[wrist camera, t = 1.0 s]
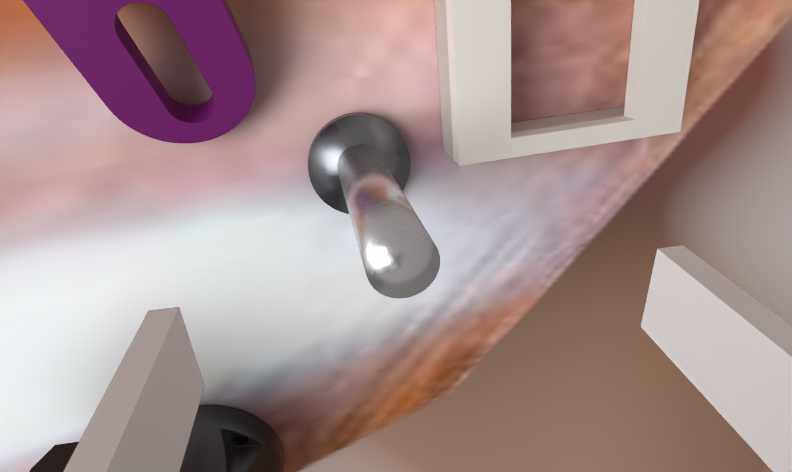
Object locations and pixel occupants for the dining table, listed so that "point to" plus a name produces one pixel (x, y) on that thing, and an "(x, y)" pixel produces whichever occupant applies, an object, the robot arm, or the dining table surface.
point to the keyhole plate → (500, 139)
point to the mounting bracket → (133, 77)
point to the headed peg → (374, 200)
